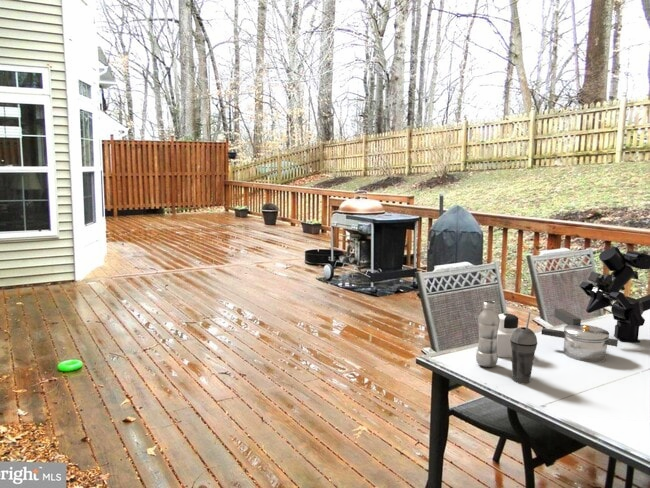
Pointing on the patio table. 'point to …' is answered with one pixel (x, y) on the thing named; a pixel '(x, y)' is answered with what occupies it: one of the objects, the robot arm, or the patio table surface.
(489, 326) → the plastic bottle
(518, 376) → the beverage cup
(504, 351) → the container
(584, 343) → the cooker pot
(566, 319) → the cooker lid
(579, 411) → the patio table surface
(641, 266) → the robot arm
